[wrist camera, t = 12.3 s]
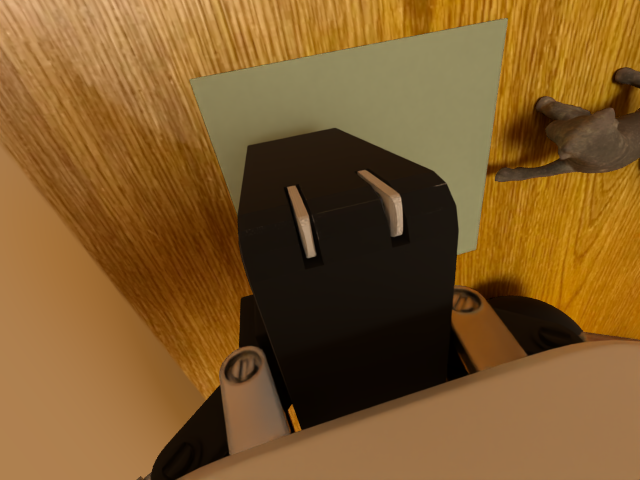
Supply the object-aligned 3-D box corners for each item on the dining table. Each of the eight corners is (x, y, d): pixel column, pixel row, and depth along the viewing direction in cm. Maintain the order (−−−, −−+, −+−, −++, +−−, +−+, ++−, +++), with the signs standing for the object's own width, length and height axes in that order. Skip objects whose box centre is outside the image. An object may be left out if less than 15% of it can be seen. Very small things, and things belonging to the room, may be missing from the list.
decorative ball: (493, 257, 26) (613, 344, 18) (539, 297, 31) (652, 382, 22) (417, 330, 29) (488, 435, 20) (469, 357, 33) (546, 453, 25)
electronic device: (291, 304, 18) (324, 501, 9) (245, 142, 13) (227, 239, 5) (354, 287, 18) (442, 461, 10) (332, 125, 14) (468, 181, 5)
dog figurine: (646, 61, 20) (832, 52, 14) (616, 145, 23) (757, 170, 17) (491, 97, 19) (616, 105, 12) (481, 180, 22) (577, 221, 15)
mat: (269, 303, 23) (270, 307, 23) (190, 79, 15) (188, 79, 14) (472, 246, 25) (476, 249, 24) (501, 19, 17) (508, 17, 16)
